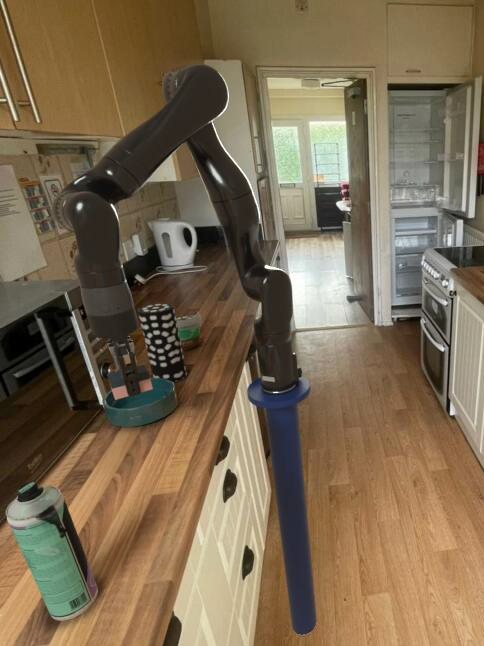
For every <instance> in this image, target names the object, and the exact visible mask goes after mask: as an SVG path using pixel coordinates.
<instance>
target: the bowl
mask: <svg viewBox="0 0 484 646" xmlns="http://www.w3.org/2000/svg"><path fill="white" fill-rule="evenodd" d="M150 380H151V383H152V387H153V389H152V390H148V391H145V392H141V393H140V394H138V395H134V396H127V397H124V398H120V399H117V400H115V398H114V395H113V392H112V389H111V390H109V391H108V392H107V393H106V394H104V396H103V398H102V400H101V402H102V406H103V410H104V413H105V416H106V420H107V422H108V423H110V424H111V425H113V426H116V427H120V428H121V427H122V428H132V427H138V426H144V425H147V424H150V423H154V422H156V421H158V420H161V419H163V418H165V417H167V416H168V415H169V414H171V413H172V412H173V411H174V410H175V409H176V408H177V406H178V401H179V400H178V396H177V390H176V387H175V384H174V382H172V381H170V380H168V379H163V378H153V377H150Z"/></svg>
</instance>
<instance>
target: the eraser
mask: <svg viewBox="0 0 484 646" xmlns="http://www.w3.org/2000/svg"><path fill="white" fill-rule="evenodd" d="M136 366H137V370H138V372H139V377H137V378H138V382H139V386H140V389H141V392H145V391H148V390H152V389H153V387H152V383H151V380H150V378H151V376H150V372H149V369H148V367H146V365H145V364H141V365H136ZM131 371H133V370H129V371H126V372H125V373H127V372H131ZM121 376H122V374H121V371H120V370H118V371H114V372H110V373H107V378H108V382H109V385H110V389H111V390H112V392H113V395H114V398H115V400H117V399H120V398H124V397H127V396H129V395H128V393H127V390H126V386H125V383H124V380H123V379H122V377H121Z"/></svg>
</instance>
